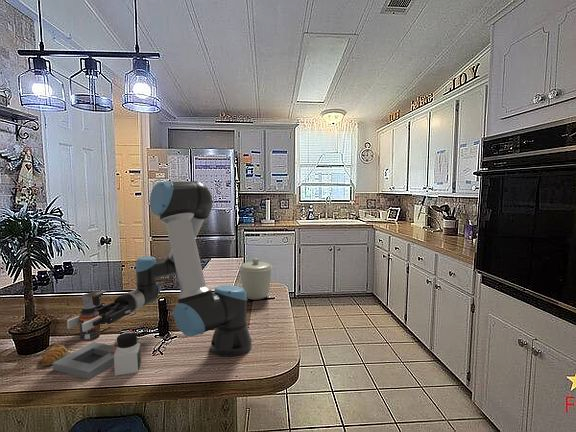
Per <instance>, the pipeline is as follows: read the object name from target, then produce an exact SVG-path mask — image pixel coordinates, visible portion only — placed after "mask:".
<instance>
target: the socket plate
mask: <svg viewBox="0 0 576 432" xmlns="http://www.w3.org/2000/svg"><path fill="white" fill-rule="evenodd" d="M116 349H117V346H116V345H112V344H106V343H105V344H104V343H102V342H101V343H100V342H95V341H93V342H90V343H89V344H87V345H85V346H84V347H81V348H79V349H77V350H75V351H74V352H72V353H70V354H66V356H65V357H64V358H62V359H60V360H58V361H56V362H54V363H53V365H52V370H53V371H55V372H60V373H63V374H67V375H72V376H76V377H79V378H83V379H88V380H90V379H92V378H94V377H95V376H97V375H99V374H100V373H102V372H103V371H105V370H106V369H108V368H110V367H111V366H114V354H115V351H116Z"/></svg>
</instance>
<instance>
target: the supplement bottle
mask: <svg viewBox="0 0 576 432" xmlns="http://www.w3.org/2000/svg"><path fill="white" fill-rule="evenodd" d="M95 309H96V306H95V305H86V306H84V307H83V306H82V307H81V311H82V313H81V312H80V314H79V315H78V316H79V325H78V326H79V339H80V341H82V342H92V341H93V342H94V341H95V340H97V339H98V338H100V336H101V332H100V325H98V326H96V327H94V328H91V329H89V330H87V331H85V332H82V323H84V322H87V321H89V320H91V319H94V318H96V317H98V316H99V312H98V311H96V310H95Z"/></svg>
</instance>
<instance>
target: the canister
mask: <svg viewBox="0 0 576 432" xmlns="http://www.w3.org/2000/svg"><path fill="white" fill-rule="evenodd" d="M238 270H239V271H240V280H241V281H240V282H241V288H243V289H245V291H246V299H247V300H248V299H249V300H262V299H265V298H267V297H268V295H269V292H270V286H271V277H272V270H273V265H272V264H270V263H268V262H265V261H260V259H259V258H257V257H256V258H255V257H254V258H252V260H251V261H247V262H243V263H242V264H240V265H239V266H238Z"/></svg>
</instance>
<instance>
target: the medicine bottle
mask: <svg viewBox="0 0 576 432" xmlns="http://www.w3.org/2000/svg"><path fill="white" fill-rule="evenodd" d="M116 345H117V346H116V347H117V349H116V351H115V354H114V364H113V366H114V376H116V377H117V376H123V375H131V374H137V373H139V371H140V368H141V363H142V355H141V354H142V353H141V343H140V342H138V335H137V333H136V332H133V331H126V332H123V333H121V334H119V335H118V336H117V337H116Z"/></svg>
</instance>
